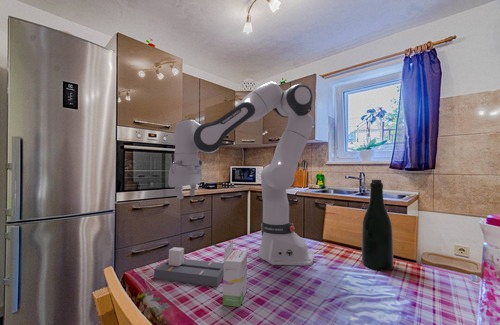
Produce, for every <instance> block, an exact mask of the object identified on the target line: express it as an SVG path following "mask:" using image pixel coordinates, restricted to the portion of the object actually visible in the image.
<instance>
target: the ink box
mask: <svg viewBox="0 0 500 325" xmlns="http://www.w3.org/2000/svg"><path fill="white" fill-rule="evenodd" d="M233 247H234V240H231V241H230V242H229V244H228V245H227V246H226V247H225V248H224V255H223V263H224V276H223V279H222V281H223V282H222V284H223V286H222V305H223V306H227V307H228V306H229V307H235V308H237V307H238V308H240V307H241V304H242V302H243V301H244V298H245V295H246V293H247V287H248V286H247V285H248V284H247V282H248V281H247V280H248V278H247V277H248V274H247V273H248V272H247V271H248V251H246V250H237V249H236V250H235V249H233Z"/></svg>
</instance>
